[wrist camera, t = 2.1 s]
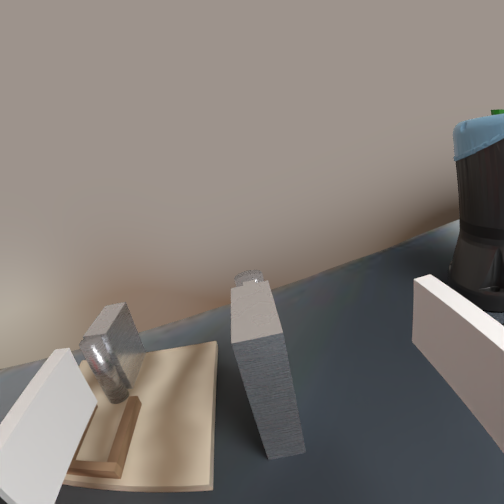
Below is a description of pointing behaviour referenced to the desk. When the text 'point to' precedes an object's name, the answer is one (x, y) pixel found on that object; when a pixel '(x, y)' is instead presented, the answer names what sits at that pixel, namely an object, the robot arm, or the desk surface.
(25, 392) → the robot arm
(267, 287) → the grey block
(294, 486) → the desk surface
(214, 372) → the hinge base
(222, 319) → the desk surface
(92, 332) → the fixed leaf
